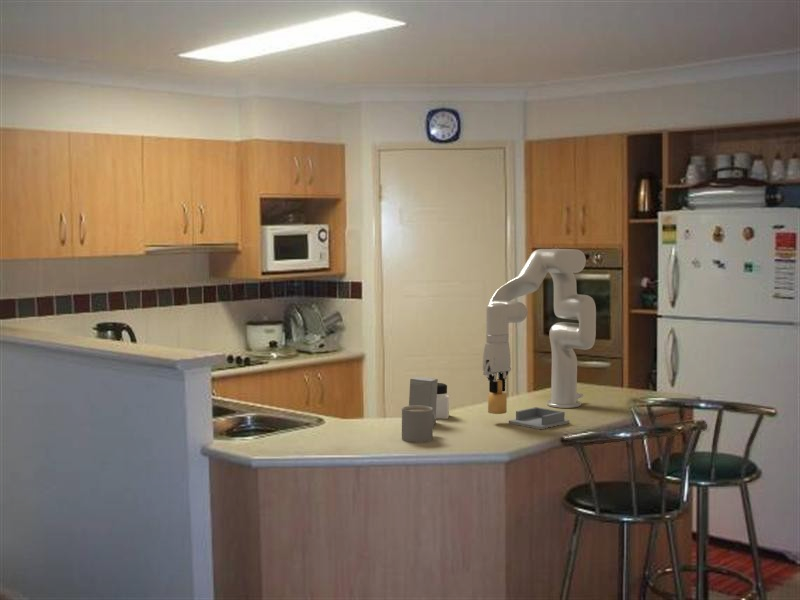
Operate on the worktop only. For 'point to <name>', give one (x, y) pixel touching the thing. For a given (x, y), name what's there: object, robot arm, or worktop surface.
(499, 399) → the amber bottle
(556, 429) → the worktop surface
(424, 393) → the skincare box
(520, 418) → the u rest
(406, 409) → the coffee mug
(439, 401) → the medicine bottle
